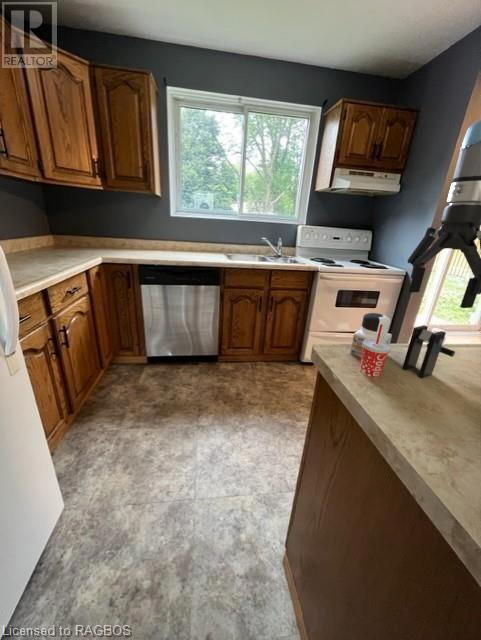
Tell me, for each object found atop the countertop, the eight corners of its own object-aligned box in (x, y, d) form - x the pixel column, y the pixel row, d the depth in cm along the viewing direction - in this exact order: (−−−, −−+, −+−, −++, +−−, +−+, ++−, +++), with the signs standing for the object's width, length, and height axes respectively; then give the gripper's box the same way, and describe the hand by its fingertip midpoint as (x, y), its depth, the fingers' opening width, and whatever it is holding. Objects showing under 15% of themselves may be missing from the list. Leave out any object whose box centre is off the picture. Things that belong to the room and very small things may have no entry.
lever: (426, 349, 73) (431, 341, 73) (451, 359, 68) (456, 350, 68) (410, 334, 66) (415, 326, 66) (436, 344, 61) (442, 335, 61)
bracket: (411, 363, 75) (424, 320, 70) (447, 380, 68) (464, 333, 63) (384, 373, 69) (396, 327, 65) (420, 392, 62) (436, 341, 57)
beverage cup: (359, 382, 65) (372, 328, 60) (352, 369, 70) (363, 319, 65) (386, 385, 64) (401, 330, 59) (377, 371, 70) (389, 321, 65)
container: (348, 358, 76) (357, 314, 72) (358, 349, 82) (367, 308, 77) (377, 368, 71) (388, 322, 67) (386, 359, 77) (397, 315, 72)
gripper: (405, 206, 69) (386, 287, 76) (524, 201, 47) (481, 316, 54) (428, 207, 71) (407, 286, 78) (552, 203, 49) (507, 314, 56)
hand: (437, 299), depth 66 cm, fingers open, 13 cm apart
